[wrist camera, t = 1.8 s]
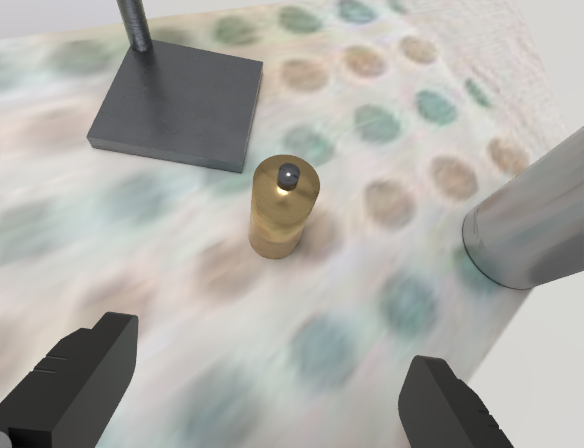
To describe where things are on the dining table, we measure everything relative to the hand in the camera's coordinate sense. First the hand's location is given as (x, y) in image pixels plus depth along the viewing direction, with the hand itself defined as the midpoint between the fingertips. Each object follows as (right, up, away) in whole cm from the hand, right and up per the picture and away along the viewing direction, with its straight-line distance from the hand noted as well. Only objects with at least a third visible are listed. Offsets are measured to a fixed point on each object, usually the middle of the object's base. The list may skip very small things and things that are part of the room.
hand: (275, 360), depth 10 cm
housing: (-1, +3, +21) cm, 21 cm away
